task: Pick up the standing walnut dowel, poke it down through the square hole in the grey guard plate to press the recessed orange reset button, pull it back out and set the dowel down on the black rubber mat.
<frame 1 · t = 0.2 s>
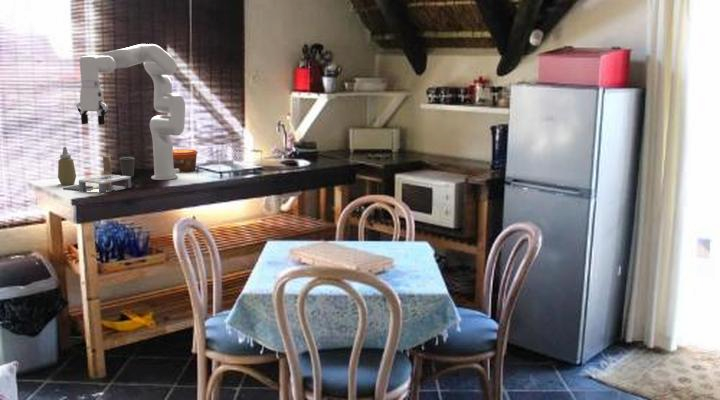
hand: (93, 124, 309), 31 cm above the worktop, tool pointing down, fingers open, 9 cm apart
guard: (105, 189, 324), on the worktop
dowel: (108, 183, 340), on the worktop
food container: (183, 170, 380), on the worktop
coffee cup: (128, 176, 361), on the worktop
mat: (78, 188, 326), on the worktop
button: (105, 183, 324), point 3 cm above the worktop, slide at 0.0 cm
squeeze bottle: (67, 184, 337), on the worktop
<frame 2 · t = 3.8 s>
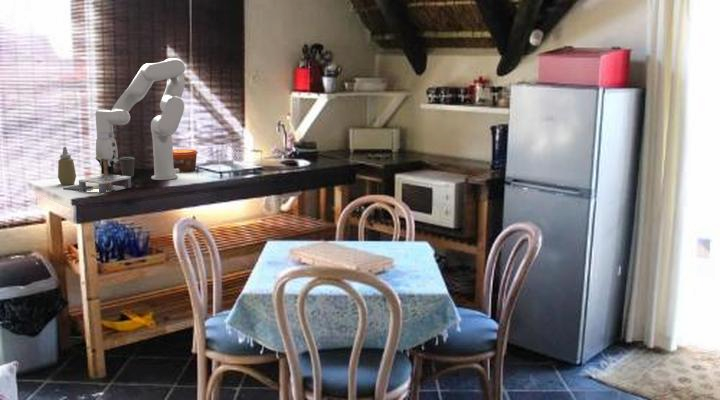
hand: (107, 173, 339), 5 cm above the worktop, tool pointing down, fingers closed on dowel, 3 cm apart
dowel: (108, 183, 340), on the worktop, touching gripper
everything else where it was.
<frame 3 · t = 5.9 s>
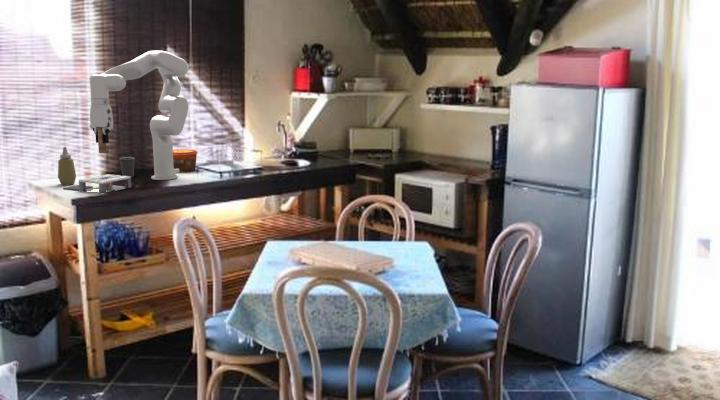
hand: (102, 142, 321), 22 cm above the worktop, tool pointing down, fingers closed on dowel, 3 cm apart
dowel: (102, 152, 322), point 17 cm above the worktop, touching gripper
everything else where it was.
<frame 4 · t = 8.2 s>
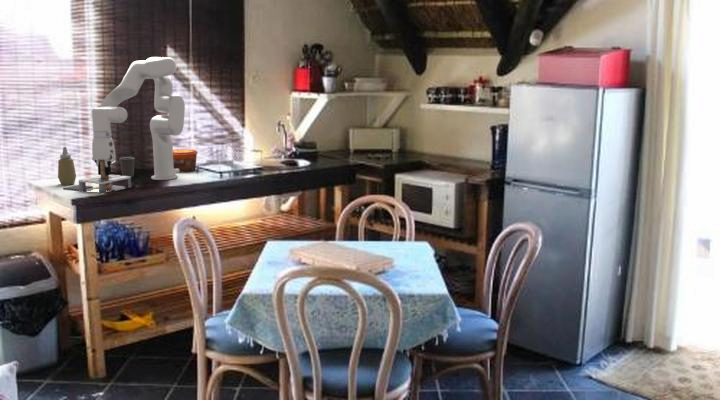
hand: (104, 174, 323), 7 cm above the worktop, tool pointing down, fingers closed on dowel, 3 cm apart
dowel: (105, 184, 324), point 2 cm above the worktop, touching button, gripper
button: (105, 186, 324), point 1 cm above the worktop, slide at 1.4 cm, touching dowel
everything else where it was.
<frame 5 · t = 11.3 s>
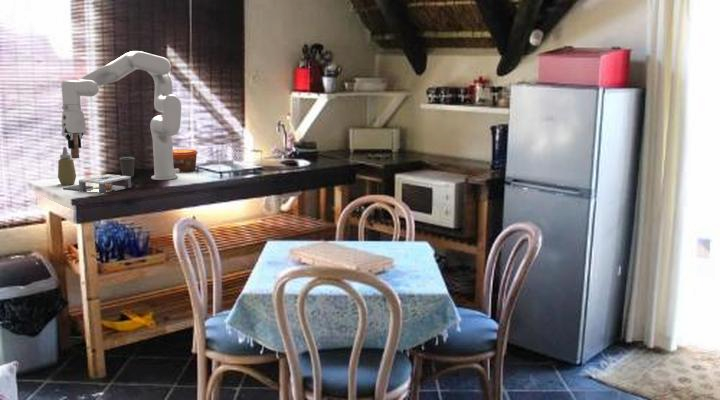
hand: (74, 147, 322), 19 cm above the worktop, tool pointing down, fingers closed on dowel, 3 cm apart
dowel: (75, 158, 323), point 14 cm above the worktop, touching gripper
button: (105, 186, 324), point 1 cm above the worktop, slide at 1.4 cm
everything else where it was.
when the fingers open (7 cm above the worktop, at t = 13.6 s): dowel drops 1 cm, resting on mat.
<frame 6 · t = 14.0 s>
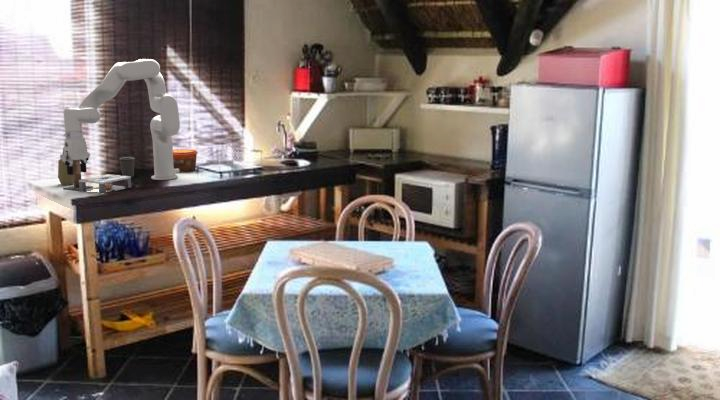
hand: (77, 173, 325), 7 cm above the worktop, tool pointing down, fingers open, 7 cm apart
dowel: (78, 187, 326), point 1 cm above the worktop, touching mat
everything else where it was.
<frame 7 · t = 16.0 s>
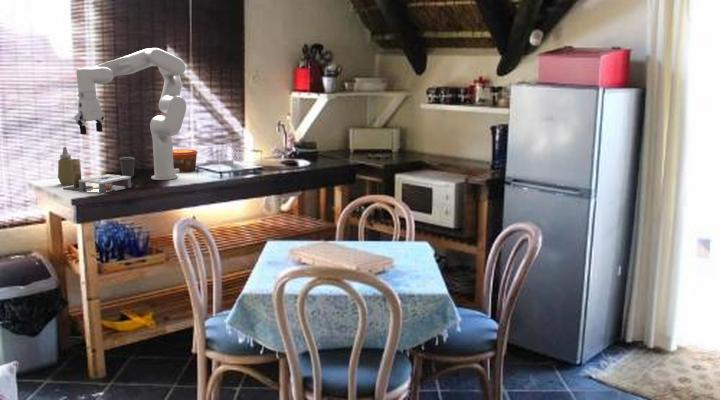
hand: (91, 132, 324), 26 cm above the worktop, tool pointing down, fingers open, 9 cm apart
nothing on the worktop moved.
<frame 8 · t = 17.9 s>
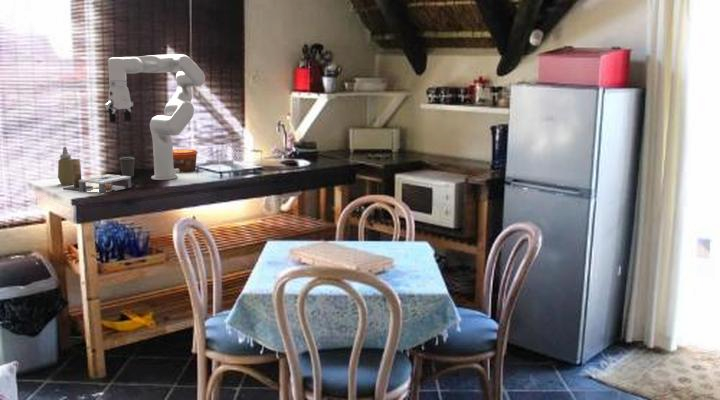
hand: (120, 121, 329), 30 cm above the worktop, tool pointing down, fingers open, 9 cm apart
nothing on the worktop moved.
at the end: button slide at 1.4 cm; dowel inside the target area on the mat (0.1 cm from its centre), point 0.6 cm above the mat's base; the gripper is holding nothing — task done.
